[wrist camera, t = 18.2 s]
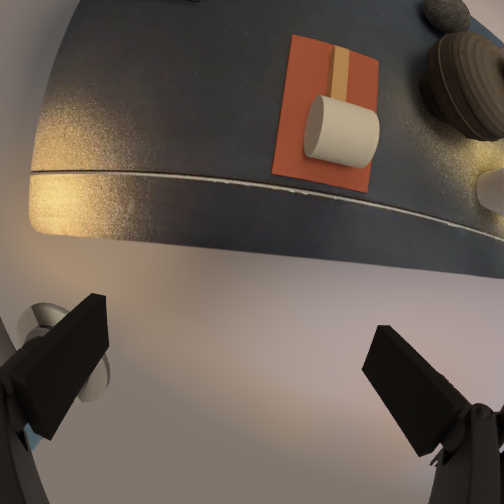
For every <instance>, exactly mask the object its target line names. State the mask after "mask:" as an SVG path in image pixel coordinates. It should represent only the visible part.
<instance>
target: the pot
mask: <svg viewBox="0 0 504 504" xmlns="http://www.w3.org/2000/svg"><path fill="white" fill-rule="evenodd" d="M426 68H427V71H426V72H424V73H423V74H422V75H421V77H420V80H419V91H420V94H421V97H422V99H423V102H424V104H425V105H426V107H427V109H428V110H429V111H430V113H431V114H432V115H433V116H434V117H435V118H436V119H438V120H439V121H441V122H444V123H451V125H452V126H453V127H454V128H455V129H456V130H457V131H459V132H460V133H461V134H463V135H464V136H465V137H466V138H469V139H475V140H478V141H492V142H493V141H497V140H499V139H501V138H504V54H503V52H502V51H501V50H500V49H499V48H498V47H497V46H496V45H495V44H493V43H492V42H491V41H490V40H488V39H487V38H485V37H484V36H482V35H480V34H478V33H475V32H472V31H461V32H456V33H452V34H447V35H445V36H443V37H442V38H441V39H439V40H437V41H436V42H435V43H434V45H433V46H432V47H431V48H430V50H429V52H428V54H427V61H426Z"/></svg>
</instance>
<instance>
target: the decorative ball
mask: <svg viewBox="0 0 504 504" xmlns="http://www.w3.org/2000/svg"><path fill="white" fill-rule="evenodd" d="M423 10H424V13H425V15H426V17H427V19H428V20H429V22H430V23H431V24H432V25H433V26H434V27H436V28H437V29H438V30H440V31H442V32H444V33H446V34H452V33H456V32H461V31H467V29H468V28H469V26H470V23H471V16H470V12H469V10H468V8H467V6H466V5H465V3H464V2H463V1H462V0H423Z"/></svg>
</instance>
